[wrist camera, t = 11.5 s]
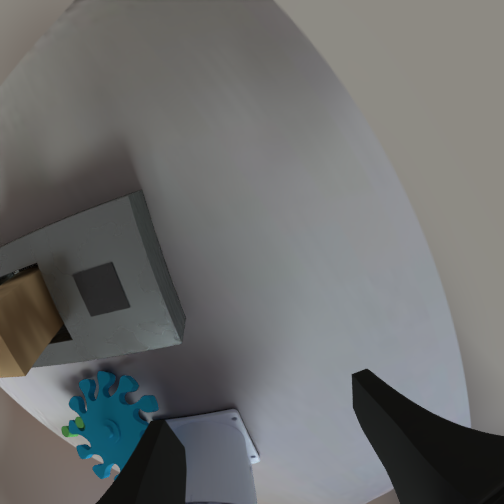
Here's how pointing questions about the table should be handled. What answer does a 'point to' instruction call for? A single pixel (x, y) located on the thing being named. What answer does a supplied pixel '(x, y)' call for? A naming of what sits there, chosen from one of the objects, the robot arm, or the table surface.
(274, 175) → the table surface
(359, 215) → the table surface
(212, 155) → the table surface
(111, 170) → the table surface
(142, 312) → the grey holed base
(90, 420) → the gear
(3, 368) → the peg
